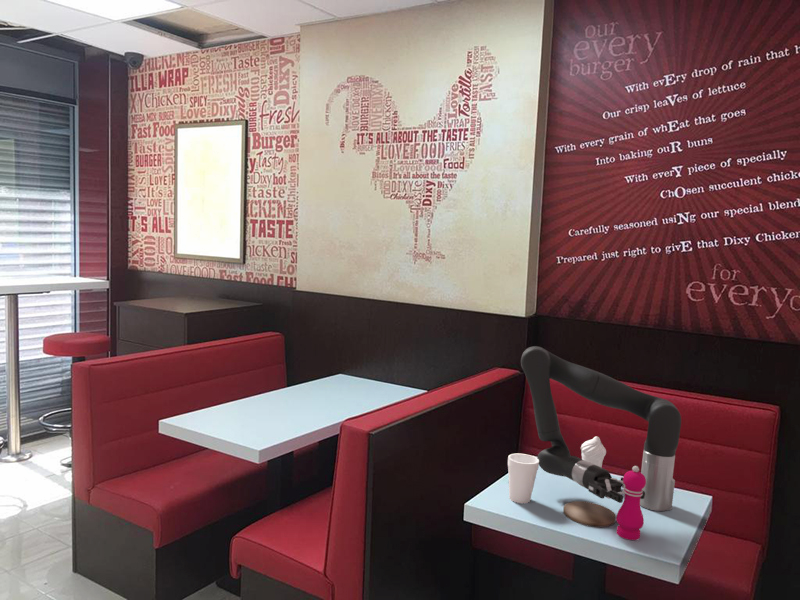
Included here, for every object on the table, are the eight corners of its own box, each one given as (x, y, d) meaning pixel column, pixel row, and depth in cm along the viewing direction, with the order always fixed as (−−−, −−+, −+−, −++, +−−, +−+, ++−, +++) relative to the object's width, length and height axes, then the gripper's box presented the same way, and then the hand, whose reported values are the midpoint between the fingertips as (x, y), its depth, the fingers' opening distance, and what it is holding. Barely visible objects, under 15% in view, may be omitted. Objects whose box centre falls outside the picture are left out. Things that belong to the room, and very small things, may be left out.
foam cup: (526, 508, 202) (530, 466, 200) (498, 499, 207) (502, 458, 206) (540, 499, 209) (544, 459, 208) (513, 490, 215) (517, 451, 213)
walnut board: (604, 506, 208) (605, 502, 207) (623, 528, 193) (624, 524, 193) (556, 504, 207) (557, 500, 206) (572, 525, 192) (572, 521, 192)
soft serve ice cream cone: (572, 480, 228) (577, 434, 227) (585, 475, 234) (590, 430, 232) (594, 488, 222) (599, 441, 220) (607, 483, 228) (612, 437, 226)
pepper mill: (647, 540, 186) (655, 470, 184) (624, 542, 184) (632, 471, 182) (631, 528, 193) (639, 461, 191) (609, 530, 191) (617, 461, 188)
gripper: (574, 466, 197) (616, 487, 183) (609, 462, 204) (652, 481, 190) (571, 491, 198) (613, 514, 184) (607, 485, 205) (649, 507, 191)
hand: (633, 497), depth 187 cm, fingers open, 8 cm apart
